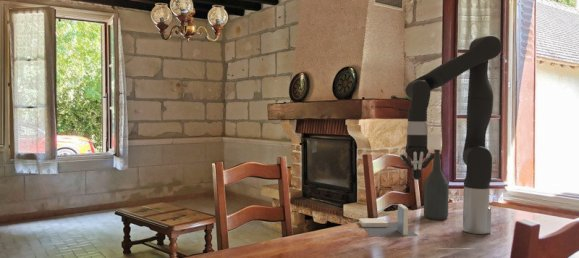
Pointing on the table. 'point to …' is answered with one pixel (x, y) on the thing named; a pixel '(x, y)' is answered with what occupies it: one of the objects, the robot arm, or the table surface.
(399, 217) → the tile
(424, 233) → the table surface
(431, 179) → the bottle
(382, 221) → the tile
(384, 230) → the mat
